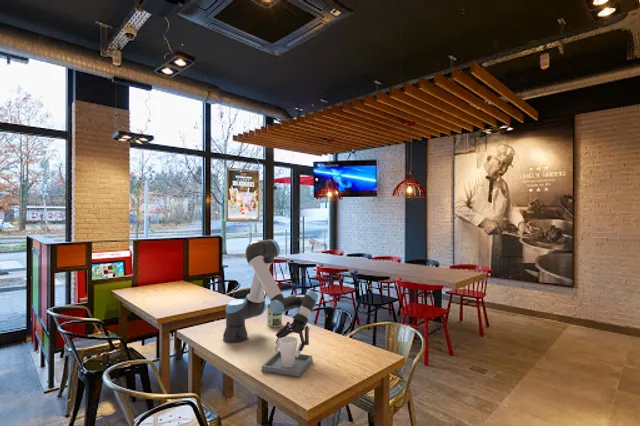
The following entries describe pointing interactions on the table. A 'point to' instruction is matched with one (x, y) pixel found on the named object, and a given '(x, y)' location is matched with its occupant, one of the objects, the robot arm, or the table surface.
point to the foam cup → (288, 350)
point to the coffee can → (274, 318)
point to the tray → (295, 371)
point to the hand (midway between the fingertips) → (285, 353)
